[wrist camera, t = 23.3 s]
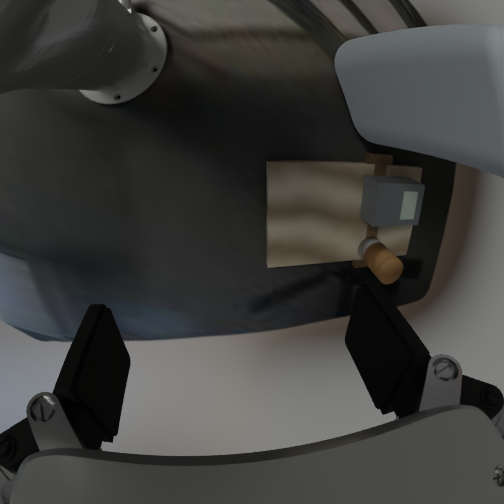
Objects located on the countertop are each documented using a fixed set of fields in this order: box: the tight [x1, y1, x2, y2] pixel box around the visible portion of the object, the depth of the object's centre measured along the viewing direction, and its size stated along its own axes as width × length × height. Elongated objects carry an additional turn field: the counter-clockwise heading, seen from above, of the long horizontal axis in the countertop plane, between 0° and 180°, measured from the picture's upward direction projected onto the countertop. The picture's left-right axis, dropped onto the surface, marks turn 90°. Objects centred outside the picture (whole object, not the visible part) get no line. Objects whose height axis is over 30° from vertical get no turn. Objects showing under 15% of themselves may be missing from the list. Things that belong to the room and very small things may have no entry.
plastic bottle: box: [335, 24, 504, 178], centre depth 19 cm, size 15×15×28 cm
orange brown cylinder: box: [358, 236, 403, 284], centre depth 39 cm, size 4×4×7 cm
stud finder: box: [360, 175, 425, 227], centre depth 36 cm, size 6×8×4 cm
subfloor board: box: [267, 152, 422, 268], centre depth 40 cm, size 18×24×1 cm
